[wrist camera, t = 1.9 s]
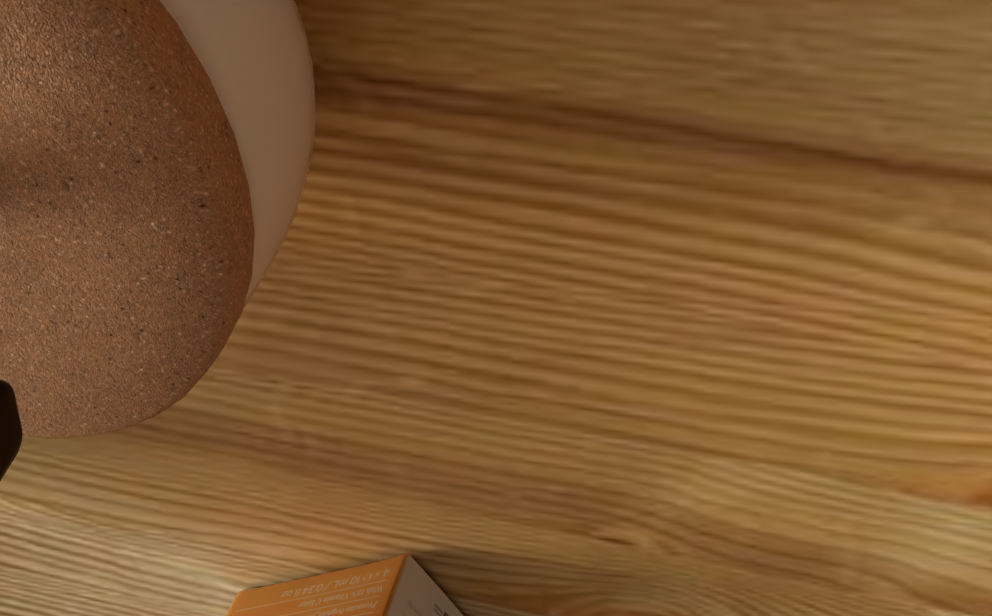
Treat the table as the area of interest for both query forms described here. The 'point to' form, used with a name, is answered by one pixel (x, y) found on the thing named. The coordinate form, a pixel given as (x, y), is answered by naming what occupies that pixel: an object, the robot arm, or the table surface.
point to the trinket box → (140, 194)
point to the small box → (351, 593)
